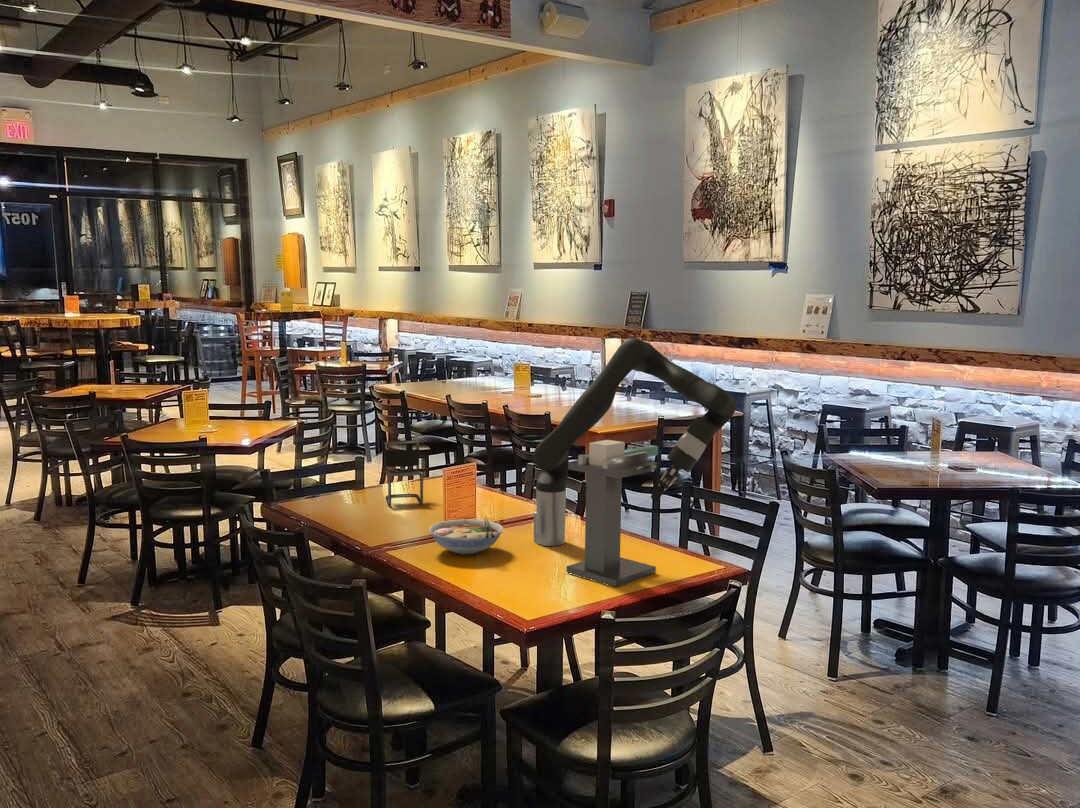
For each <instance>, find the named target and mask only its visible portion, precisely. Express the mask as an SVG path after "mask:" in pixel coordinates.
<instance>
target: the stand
mask: <svg viewBox="0 0 1080 808" xmlns="http://www.w3.org/2000/svg"><path fill="white" fill-rule="evenodd" d="M659 466H660V464H659V462H656V461H650V460H649V457H648V452H639V453H634V454H628V455H623V456H618V457H613V458H607V459H603V467H602V466H596V465H591V464H589V453H583V454H578V459H577V460H574V461H569V462H568V470H570V471H575V472H581V473H585V474H586V477H585V478H586V479H585V531H584V533H585V534H584V536H585V538H584V560H583V561H579V562H575V563H573V564H569V565H566V572H568V573H572V574H575V575H578V576H581V577H580V578H582V577H585V578H588V579H592V580H595V581H598V582H597V583H599V582H601V583H600V584H602V583H605V584H608V585H607V586H609V585H611V586H610V587H612V586H614V587H613V588H619V587H621V586H620V585H622V586H624V585H627V584H630V583H633V582H635V580H636V581H639V580H641V579H644V578H647V577H650V576H652V575H651V574H653V575H655V573H656V574H657V566H655V565H650V564H647V563H644V562H639V561H635V560H632V559H627V558H624V557H622V556H621V538H622V537H621V535H622V534H621V533H622V532H621V531H622V530H621V529H622V528H621V526H622V524H621V523H622V488H623V487H622V485H623V484H622V482H623V481H622V480H623V478H624V479H625V478H627V477H632V476H637V475H641V474H645V473H651V472H656V471H659V470H660V469H659V468H660V467H659ZM568 573H567V574H568ZM575 575H574V576H575ZM649 575H650V576H649ZM578 576H577V577H578ZM646 576H647V577H646ZM643 577H644V578H643ZM585 578H584V579H585ZM640 578H641V579H640ZM588 579H587V580H588ZM638 579H639V580H638ZM592 580H591V581H592ZM595 581H594V582H595ZM632 581H633V582H632ZM626 583H627V584H626ZM605 584H604V585H605ZM623 584H624V585H623ZM618 586H619V587H618Z"/></svg>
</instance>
